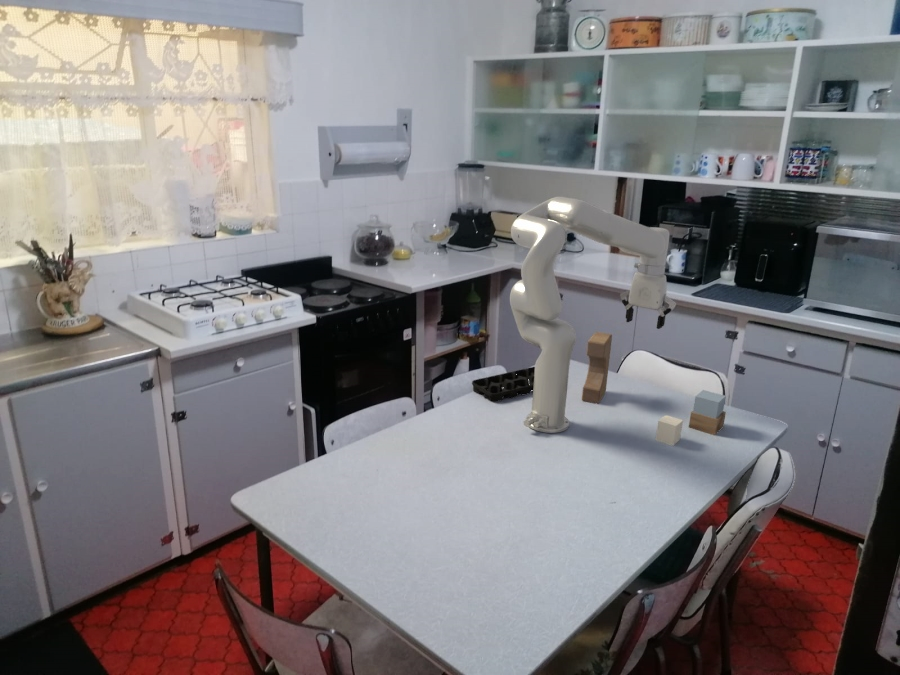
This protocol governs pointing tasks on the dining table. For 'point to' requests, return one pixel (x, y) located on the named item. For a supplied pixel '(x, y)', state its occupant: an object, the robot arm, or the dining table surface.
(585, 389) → the decorative block
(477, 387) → the egg carton
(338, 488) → the dining table surface
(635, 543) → the dining table surface
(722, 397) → the tower top
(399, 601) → the dining table surface
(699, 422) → the tower base
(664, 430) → the cream block
